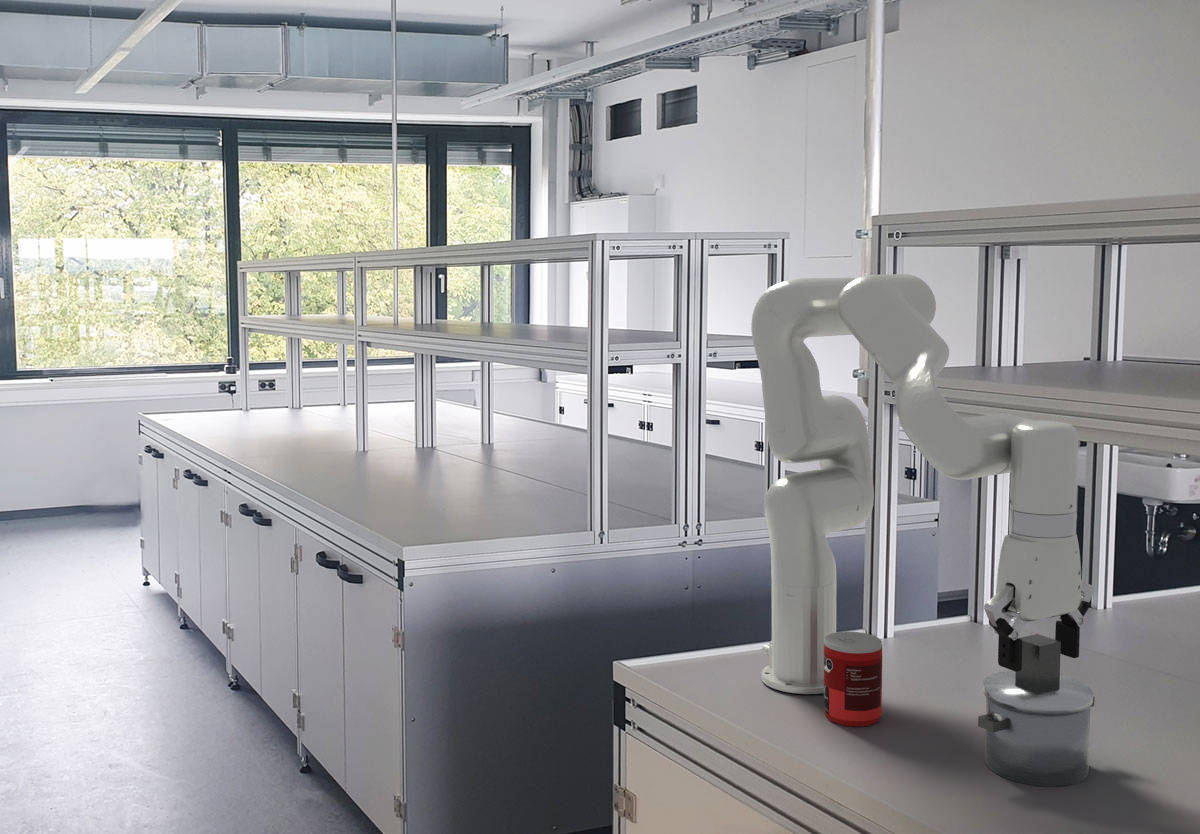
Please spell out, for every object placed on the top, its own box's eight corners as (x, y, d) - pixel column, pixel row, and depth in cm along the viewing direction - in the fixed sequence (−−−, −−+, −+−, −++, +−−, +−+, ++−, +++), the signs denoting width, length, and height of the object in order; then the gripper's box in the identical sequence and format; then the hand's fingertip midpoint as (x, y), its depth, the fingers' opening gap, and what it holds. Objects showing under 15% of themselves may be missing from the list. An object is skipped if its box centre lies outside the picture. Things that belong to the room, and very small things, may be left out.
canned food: (839, 702, 169) (840, 627, 168) (891, 715, 164) (892, 637, 163) (813, 718, 163) (813, 641, 162) (866, 732, 158) (866, 652, 157)
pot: (948, 762, 148) (949, 693, 147) (1047, 735, 156) (1049, 669, 155) (1022, 799, 137) (1024, 724, 136) (1125, 768, 145) (1127, 697, 144)
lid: (961, 689, 148) (962, 634, 147) (1033, 671, 154) (1034, 619, 153) (1040, 721, 137) (1042, 663, 136) (1115, 701, 143) (1117, 645, 142)
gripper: (1068, 511, 150) (1064, 642, 152) (965, 526, 142) (963, 664, 144) (1118, 521, 143) (1113, 658, 145) (1013, 538, 136) (1010, 683, 138)
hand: (1038, 661), depth 145 cm, fingers open, 9 cm apart
